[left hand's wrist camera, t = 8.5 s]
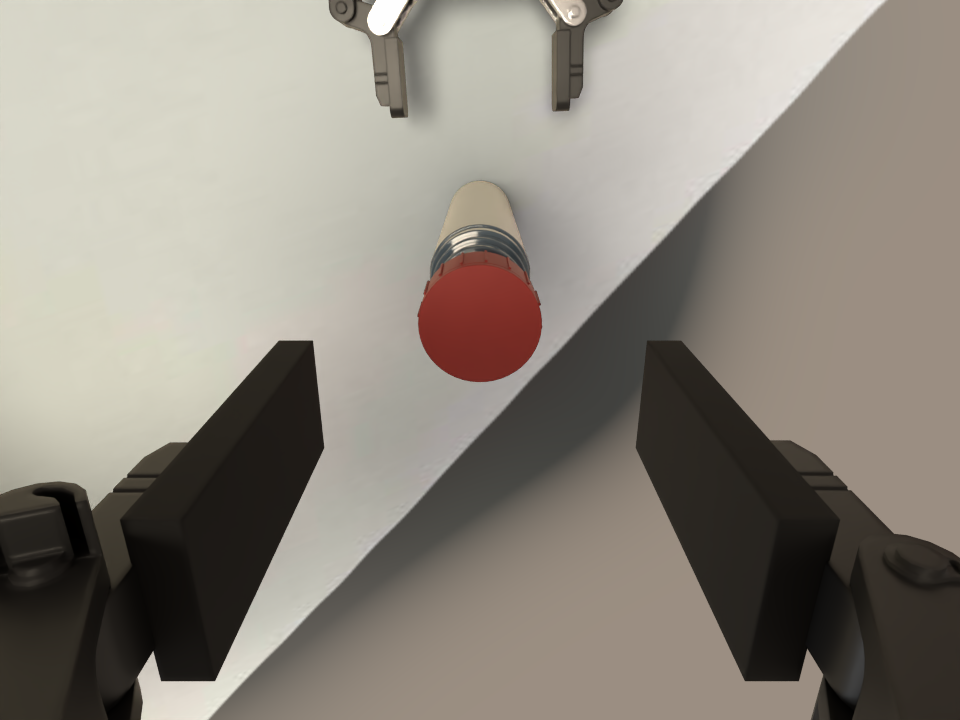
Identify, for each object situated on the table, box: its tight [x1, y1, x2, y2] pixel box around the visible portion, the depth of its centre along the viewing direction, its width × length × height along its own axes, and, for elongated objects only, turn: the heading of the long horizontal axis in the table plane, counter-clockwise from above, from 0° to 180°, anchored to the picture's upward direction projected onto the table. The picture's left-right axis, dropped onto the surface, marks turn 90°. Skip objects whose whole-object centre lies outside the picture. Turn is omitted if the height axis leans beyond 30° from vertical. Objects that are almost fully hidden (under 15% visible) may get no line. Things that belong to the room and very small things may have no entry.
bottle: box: [430, 181, 530, 280], centre depth 30 cm, size 4×4×23 cm
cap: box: [418, 250, 542, 382], centre depth 20 cm, size 4×4×2 cm
